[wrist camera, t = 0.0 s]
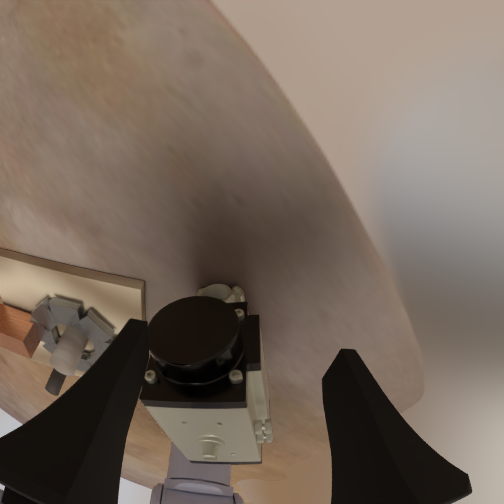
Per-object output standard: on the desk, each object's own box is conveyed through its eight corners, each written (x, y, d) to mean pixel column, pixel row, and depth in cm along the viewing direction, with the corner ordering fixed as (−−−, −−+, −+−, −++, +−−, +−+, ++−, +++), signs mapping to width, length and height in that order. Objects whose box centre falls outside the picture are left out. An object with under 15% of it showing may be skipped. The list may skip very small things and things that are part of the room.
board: (149, 387, 30) (140, 426, 26) (30, 352, 28) (14, 383, 24) (144, 281, 22) (124, 330, 18) (-8, 246, 20) (-39, 279, 16)
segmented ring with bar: (116, 312, 22) (102, 343, 19) (125, 376, 27) (117, 403, 24) (-9, 277, 20) (-27, 299, 18) (16, 341, 25) (4, 363, 22)
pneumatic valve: (208, 354, 26) (194, 482, 16) (175, 241, 20) (119, 403, 10) (270, 351, 26) (276, 483, 16) (259, 233, 20) (265, 407, 10)
